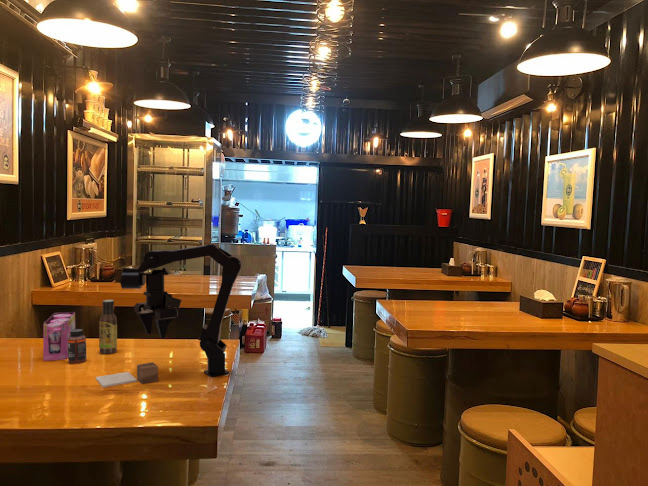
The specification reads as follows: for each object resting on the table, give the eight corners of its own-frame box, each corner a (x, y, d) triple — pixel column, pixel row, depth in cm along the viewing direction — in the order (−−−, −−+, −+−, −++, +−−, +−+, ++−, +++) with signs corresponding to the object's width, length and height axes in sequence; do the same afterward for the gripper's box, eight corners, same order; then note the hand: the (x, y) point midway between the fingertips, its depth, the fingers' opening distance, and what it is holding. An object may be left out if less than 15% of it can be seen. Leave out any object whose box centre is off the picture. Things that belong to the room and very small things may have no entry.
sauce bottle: (95, 353, 197) (94, 301, 196) (107, 349, 202) (106, 298, 201) (109, 355, 194) (108, 302, 193) (121, 351, 200) (120, 299, 199)
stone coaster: (136, 381, 163) (136, 379, 163) (102, 387, 158) (102, 385, 158) (128, 373, 172) (128, 371, 172) (95, 379, 166) (95, 377, 166)
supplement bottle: (90, 359, 188) (89, 328, 188) (80, 364, 182) (80, 332, 182) (74, 359, 189) (73, 328, 188) (64, 363, 183) (63, 331, 183)
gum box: (66, 360, 187) (65, 323, 187) (42, 362, 185) (41, 324, 184) (76, 345, 210) (75, 311, 209) (54, 346, 208) (53, 312, 207)
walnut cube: (157, 381, 164) (157, 365, 163) (141, 384, 161) (141, 368, 161) (153, 377, 168) (152, 362, 168) (137, 380, 165) (136, 364, 165)
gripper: (192, 289, 169) (192, 336, 170) (163, 283, 182) (164, 328, 183) (160, 292, 161) (161, 342, 162) (133, 286, 174) (133, 333, 175)
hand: (155, 336), depth 171 cm, fingers open, 9 cm apart
